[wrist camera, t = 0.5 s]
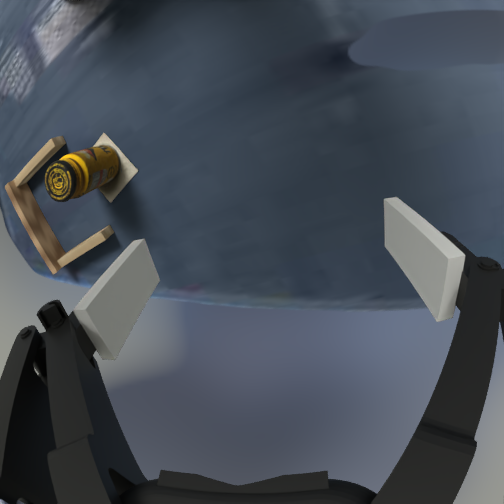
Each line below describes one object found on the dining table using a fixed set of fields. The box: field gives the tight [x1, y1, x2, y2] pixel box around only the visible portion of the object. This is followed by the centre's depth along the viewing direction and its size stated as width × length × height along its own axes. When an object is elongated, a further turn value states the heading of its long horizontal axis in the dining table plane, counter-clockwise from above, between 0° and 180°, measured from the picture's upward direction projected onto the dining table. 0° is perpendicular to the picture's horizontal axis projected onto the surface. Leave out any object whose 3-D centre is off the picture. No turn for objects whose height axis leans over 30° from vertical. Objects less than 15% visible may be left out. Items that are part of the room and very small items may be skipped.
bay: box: [5, 136, 114, 274], centre depth 40 cm, size 19×14×4 cm
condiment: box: [45, 133, 138, 203], centre depth 34 cm, size 7×8×12 cm
